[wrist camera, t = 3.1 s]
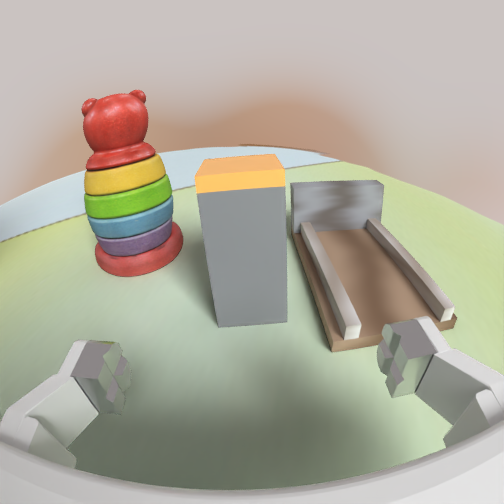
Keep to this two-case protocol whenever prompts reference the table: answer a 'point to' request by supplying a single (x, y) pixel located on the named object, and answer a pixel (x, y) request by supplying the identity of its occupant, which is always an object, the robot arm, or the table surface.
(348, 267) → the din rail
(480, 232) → the table surface
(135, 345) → the table surface
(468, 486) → the robot arm
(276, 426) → the table surface
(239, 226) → the grey tall block
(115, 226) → the stacking bear
